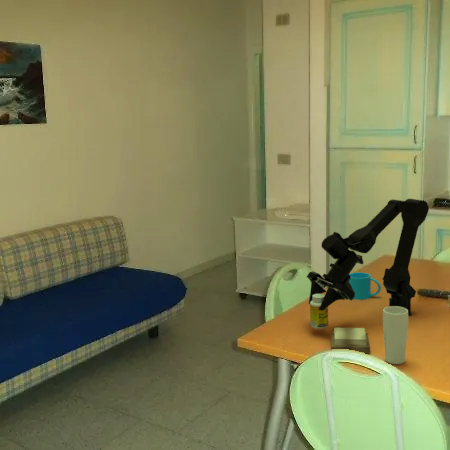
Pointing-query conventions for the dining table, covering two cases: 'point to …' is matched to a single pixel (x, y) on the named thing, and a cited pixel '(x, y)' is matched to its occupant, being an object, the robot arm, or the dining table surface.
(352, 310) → the dining table surface
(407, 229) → the robot arm
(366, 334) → the stand
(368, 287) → the mug
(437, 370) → the dining table surface
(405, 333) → the drinking glass
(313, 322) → the supplement bottle
